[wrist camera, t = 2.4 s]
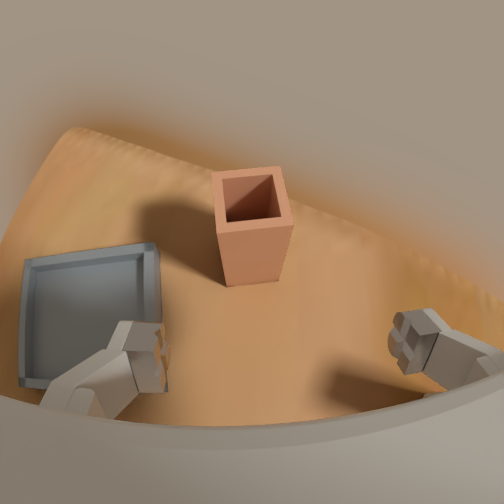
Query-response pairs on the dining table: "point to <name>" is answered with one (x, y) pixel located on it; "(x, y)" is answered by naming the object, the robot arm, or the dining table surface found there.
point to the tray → (82, 306)
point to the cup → (252, 224)
